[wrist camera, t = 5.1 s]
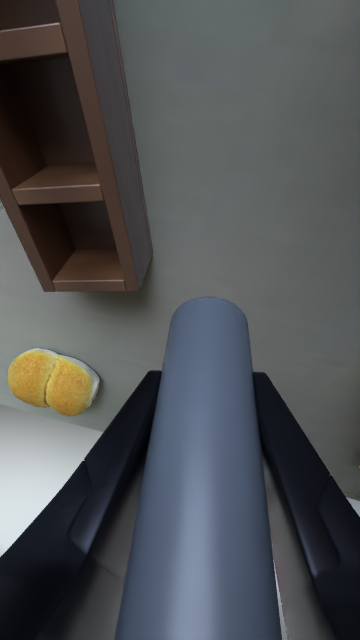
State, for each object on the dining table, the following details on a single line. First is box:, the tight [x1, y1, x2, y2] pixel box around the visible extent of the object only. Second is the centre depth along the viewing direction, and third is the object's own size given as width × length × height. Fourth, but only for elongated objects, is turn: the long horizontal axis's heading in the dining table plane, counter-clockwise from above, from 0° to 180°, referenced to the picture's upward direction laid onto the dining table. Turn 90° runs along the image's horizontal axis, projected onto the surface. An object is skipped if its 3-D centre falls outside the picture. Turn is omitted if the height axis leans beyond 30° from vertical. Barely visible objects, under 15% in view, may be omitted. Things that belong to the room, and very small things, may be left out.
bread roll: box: [7, 348, 100, 416], centre depth 30 cm, size 8×9×4 cm
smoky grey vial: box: [114, 297, 282, 640], centre depth 8 cm, size 3×3×10 cm
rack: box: [0, 0, 153, 292], centre depth 12 cm, size 6×22×5 cm, turn 5°
